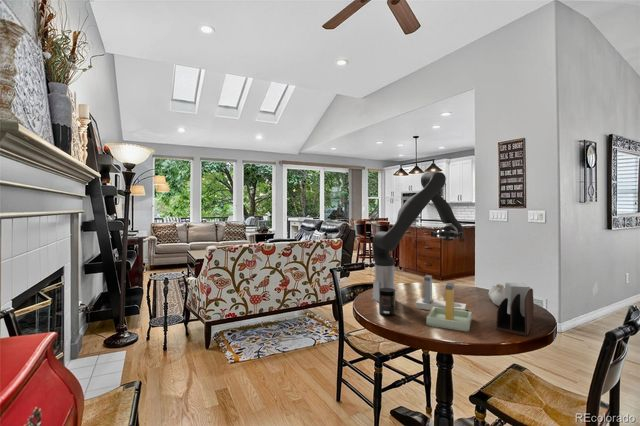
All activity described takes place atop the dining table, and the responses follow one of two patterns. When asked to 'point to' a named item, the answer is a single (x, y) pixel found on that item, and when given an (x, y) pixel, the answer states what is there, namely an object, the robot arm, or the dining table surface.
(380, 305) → the supplement container
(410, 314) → the dining table surface
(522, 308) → the supplement box
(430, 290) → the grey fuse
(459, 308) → the block
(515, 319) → the letter holder
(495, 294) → the cat figurine
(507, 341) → the dining table surface
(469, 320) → the tray
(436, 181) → the robot arm
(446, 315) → the yellow grey long block
